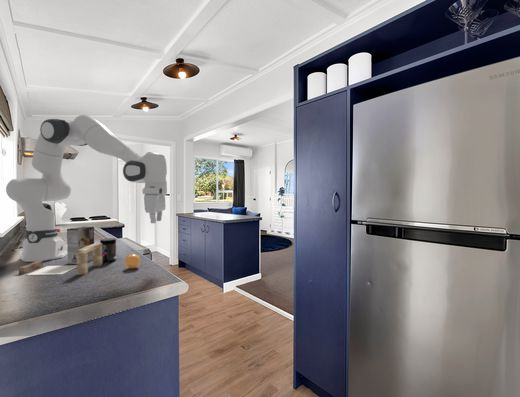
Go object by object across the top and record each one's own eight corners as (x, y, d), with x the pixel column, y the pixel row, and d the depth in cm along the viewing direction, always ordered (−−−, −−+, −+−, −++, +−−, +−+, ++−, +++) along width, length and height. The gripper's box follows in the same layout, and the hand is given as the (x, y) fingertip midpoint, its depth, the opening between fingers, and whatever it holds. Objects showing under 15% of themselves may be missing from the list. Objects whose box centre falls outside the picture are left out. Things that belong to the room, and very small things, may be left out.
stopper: (37, 266, 119) (37, 260, 119) (42, 266, 119) (42, 260, 119) (18, 274, 108) (18, 267, 108) (24, 274, 109) (24, 267, 108)
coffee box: (83, 259, 134) (83, 226, 133) (94, 259, 132) (94, 226, 132) (66, 263, 125) (66, 228, 124) (78, 264, 123) (78, 229, 123)
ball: (127, 266, 121) (127, 253, 120) (142, 266, 121) (142, 252, 121) (122, 270, 115) (122, 256, 114) (137, 270, 115) (137, 255, 115)
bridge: (77, 274, 108) (77, 250, 108) (95, 264, 123) (95, 243, 123) (85, 274, 109) (85, 250, 108) (102, 264, 123) (102, 243, 123)
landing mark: (47, 266, 120) (47, 265, 120) (79, 265, 121) (79, 265, 121) (26, 275, 107) (26, 274, 107) (62, 274, 108) (62, 273, 108)
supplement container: (103, 259, 132) (102, 238, 132) (118, 259, 134) (118, 237, 134) (97, 263, 126) (97, 240, 126) (113, 262, 127) (113, 240, 127)
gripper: (154, 190, 128) (155, 219, 128) (141, 189, 108) (141, 224, 108) (168, 190, 129) (168, 219, 129) (157, 189, 109) (157, 224, 109)
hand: (156, 222), depth 118 cm, fingers open, 8 cm apart
